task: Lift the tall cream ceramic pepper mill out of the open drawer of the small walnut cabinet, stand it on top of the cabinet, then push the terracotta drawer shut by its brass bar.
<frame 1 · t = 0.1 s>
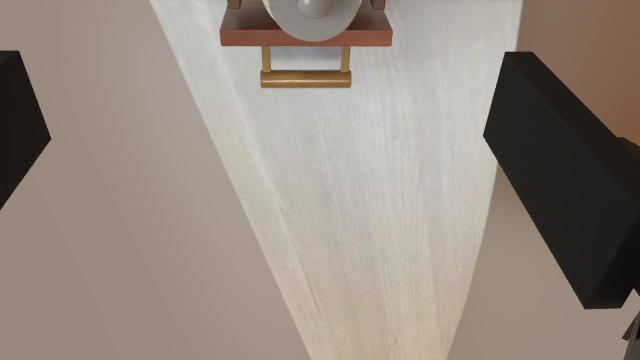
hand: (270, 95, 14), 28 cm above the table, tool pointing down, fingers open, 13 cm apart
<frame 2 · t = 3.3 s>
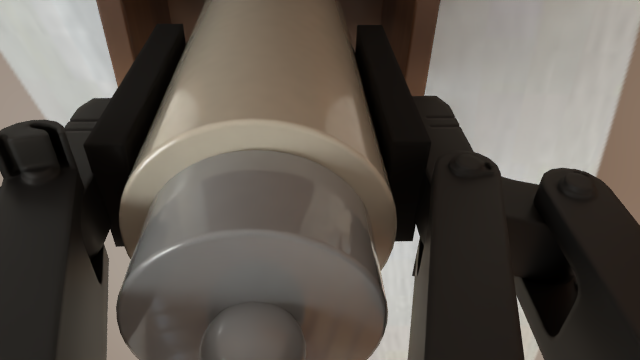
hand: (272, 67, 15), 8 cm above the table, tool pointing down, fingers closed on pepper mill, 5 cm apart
pepper mill: (276, 3, 20), point 2 cm above the table, touching drawer, gripper
drawer: (276, 57, 19), point 4 cm above the table, slide at 10.5 cm, touching pepper mill
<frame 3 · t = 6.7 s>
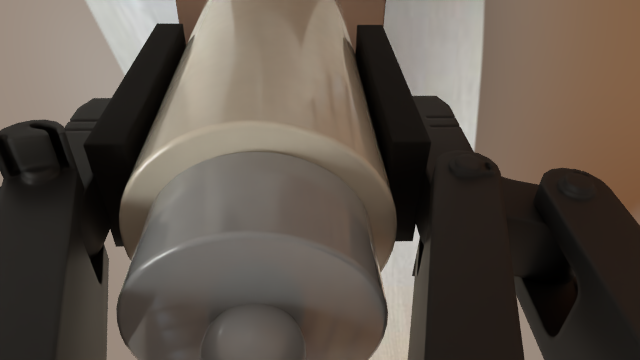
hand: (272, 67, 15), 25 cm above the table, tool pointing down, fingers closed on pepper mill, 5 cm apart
pepper mill: (276, 4, 20), point 19 cm above the table, touching gripper
when the fingers open (15 cm above the table, at t = 9.9 s): pepper mill stays where it is, resting on cabinet.
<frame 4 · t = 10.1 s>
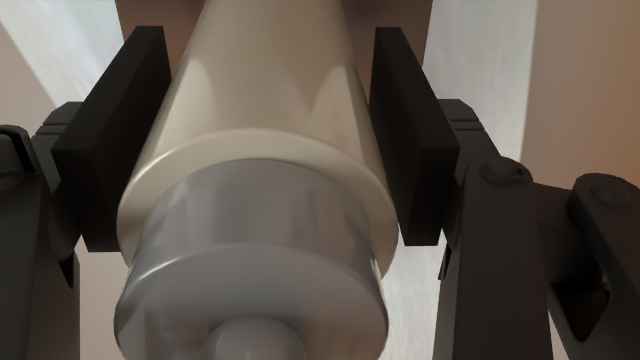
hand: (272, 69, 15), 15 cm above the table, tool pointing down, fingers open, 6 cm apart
pepper mill: (276, 5, 20), point 9 cm above the table, touching cabinet
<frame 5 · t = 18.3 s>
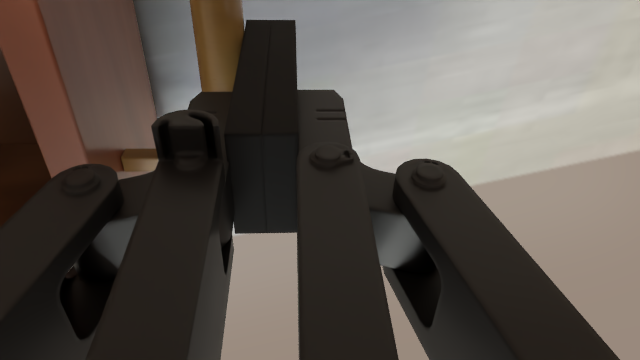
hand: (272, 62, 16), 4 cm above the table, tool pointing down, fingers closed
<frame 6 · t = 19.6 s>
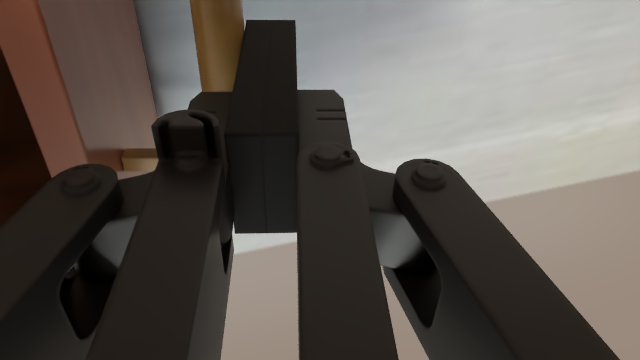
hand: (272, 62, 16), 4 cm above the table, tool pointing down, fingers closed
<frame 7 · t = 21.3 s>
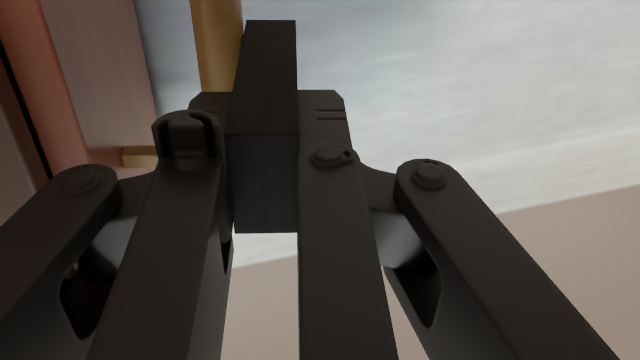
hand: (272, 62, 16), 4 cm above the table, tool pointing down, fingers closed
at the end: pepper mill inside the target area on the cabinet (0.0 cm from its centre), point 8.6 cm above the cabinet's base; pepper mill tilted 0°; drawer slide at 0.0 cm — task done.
